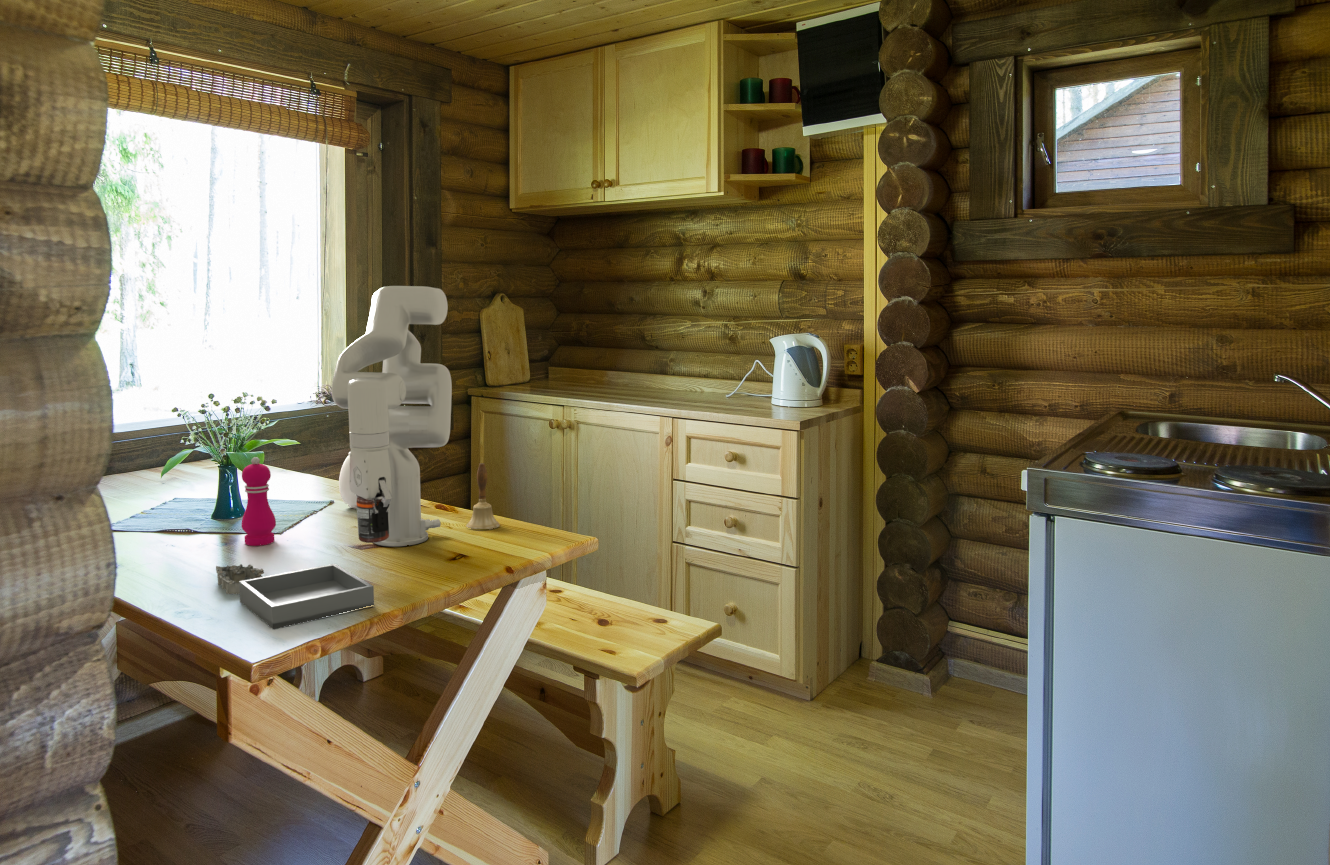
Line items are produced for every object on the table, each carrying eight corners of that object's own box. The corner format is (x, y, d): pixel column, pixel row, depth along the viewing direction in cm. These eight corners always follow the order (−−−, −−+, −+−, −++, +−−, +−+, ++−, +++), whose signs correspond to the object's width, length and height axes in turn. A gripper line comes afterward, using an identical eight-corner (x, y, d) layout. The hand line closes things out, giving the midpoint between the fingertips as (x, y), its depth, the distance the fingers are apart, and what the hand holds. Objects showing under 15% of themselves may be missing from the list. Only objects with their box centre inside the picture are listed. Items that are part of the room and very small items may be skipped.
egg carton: (267, 591, 173) (266, 570, 173) (224, 598, 169) (223, 577, 168) (256, 576, 182) (255, 557, 181) (215, 583, 178) (214, 563, 177)
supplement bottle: (378, 533, 185) (376, 479, 183) (395, 539, 181) (393, 484, 179) (352, 539, 180) (349, 485, 178) (369, 545, 177) (366, 490, 175)
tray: (336, 583, 178) (335, 563, 177) (374, 606, 164) (373, 586, 164) (240, 602, 166) (239, 581, 165) (272, 629, 153) (271, 607, 152)
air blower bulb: (376, 506, 242) (374, 441, 240) (353, 512, 236) (350, 445, 233) (357, 503, 247) (355, 438, 244) (333, 508, 240) (331, 442, 237)
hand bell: (460, 525, 224) (459, 463, 222) (489, 520, 230) (488, 459, 227) (475, 532, 218) (474, 468, 216) (505, 527, 223) (505, 464, 221)
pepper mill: (263, 547, 202) (259, 460, 199) (235, 545, 203) (230, 459, 200) (283, 539, 209) (279, 455, 206) (255, 537, 210) (251, 453, 207)
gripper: (334, 435, 181) (338, 521, 184) (369, 449, 168) (373, 541, 172) (369, 431, 186) (373, 515, 189) (407, 444, 173) (410, 534, 176)
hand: (373, 526), depth 180 cm, fingers closed on supplement bottle, 6 cm apart
